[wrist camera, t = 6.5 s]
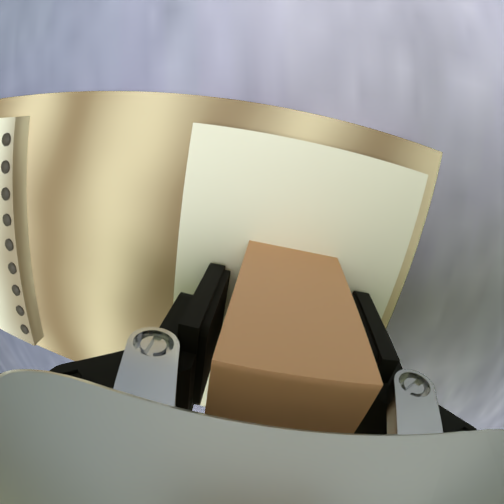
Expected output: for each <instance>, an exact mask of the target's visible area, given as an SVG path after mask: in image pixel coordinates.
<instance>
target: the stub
mask: <svg viewBox="0 0 504 504" xmlns="http://www.w3.org/2000/svg"><path fill="white" fill-rule="evenodd" d="M427 179H428V174H425V173H422V172H419V171H416V170H413V169H409V168H406V167H403V166H400V165H396V164H393V163H390V162H386V161H383V160H379V159H376V158H372V157H369V156H365V155H361V154H358V153H354V152H350V151H346V150H342V149H338V148H334V147H330V146H325V145H321V144H317V143H312V142H308V141H303V140H298V139H294V138H289V137H284V136H278V135H273V134H268V133H262V132H256V131H250V130H244V129H238V128H231V127H225V126H217V125H210V124H202V123H193V126H192V133H191V139H190V146H189V153H188V160H187V167H186V175H185V182H184V190H183V199H182V207H181V217H180V226H179V236H178V247H177V258H176V270H175V284H174V298H173V303H174V302H175V300H176V299H177V297H178V295H179V294H180V293H181V292H183V293H188V294H192V295H193V294H194V292H195V291H196V289H197V287H198V285H199V283H200V281H201V279H202V277H203V276H204V274H205V272H206V270H207V268H208V266H209V264H210V263H214V264H219V265H224V266H226V268H225V270H229V271H231V272H230V279H229V285H228V291H227V298H226V304H225V310H224V317H223V323H222V329H221V332H220V335H219V338H218V341H217V345H216V348H215V351H214V354H213V358H212V362H211V370H210V373H209V377H208V380H207V383H206V387H205V390H204V394H203V397H202V400H201V404H200V405H201V406H205V407H206V408H205V414H208V415H213V416H218V417H223V418H228V419H233V420H239V421H245V422H250V423H257V424H263V425H270V426H277V427H284V428H292V429H301V430H311V431H322V432H336V433H354V432H355V431H356V429H357V428H358V426H359V425H360V423H361V421H362V420H363V418H364V417H365V415H366V413H367V412H368V410H369V409H370V407H371V405H372V404H373V402H374V400H375V399H376V397H377V395H378V393H379V392H380V390H381V388H382V386H383V382H382V379H381V376H380V373H379V370H378V367H377V364H376V361H375V358H374V355H373V352H372V349H371V346H370V343H369V340H368V337H367V334H366V332H365V329H364V326H363V323H362V320H361V318H360V315H359V312H358V310H357V307H356V304H355V301H354V299H353V296H352V293H353V291H360V292H365V293H369V294H370V297H371V299H372V301H373V303H374V305H375V307H376V309H377V311H378V313H379V316H380V318H381V319H382V316H383V314H384V311H385V309H386V307H387V304H388V301H389V299H390V296H391V294H392V291H393V288H394V286H395V283H396V280H397V278H398V275H399V272H400V269H401V266H402V263H403V261H404V258H405V255H406V252H407V249H408V246H409V242H410V239H411V236H412V233H413V230H414V226H415V223H416V220H417V216H418V213H419V209H420V205H421V202H422V198H423V194H424V191H425V187H426V183H427ZM196 405H197V404H196Z"/></svg>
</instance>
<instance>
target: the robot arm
mask: <svg viewBox="0 0 504 504" xmlns="http://www.w3.org/2000/svg"><path fill="white" fill-rule="evenodd" d="M225 268H226V266H224V265H219V264H214V263H210V264H209V266H208V268H207V270H206V272H205V274H204V276H203V277H202V279H201V281H200V283H199V285H198V287H197V289H196V291H195V292H194V294H193V295H192V294H188V293H183V292H181V293H180V294H179V295H178V297H177V299H176V300H175V302H174V303H173V305H172V307H171V308H170V310H169V312H168V313H167V315H166V317H165V318H164V320H163V322H162V324H161V325H160V327H145V328H141V329H138V330H136V331H134V332H133V333H132V334H130V336H129V338H128V340H127V343H126V346H125V350H122V351H118V352H114V353H110V354H106V355H101V356H97V357H92V358H88V359H84V360H79V361H74V362H70V363H65V364H61V365H58V366H56V367H54V368H53V369H51V370H50V371H42V370H32V369H19V370H10V371H7V372H4V373H0V504H504V430H503V429H485V430H477V429H476V428H474V427H473V426H471V425H470V424H468V423H466V422H465V421H463V420H462V419H460V418H459V417H457V416H455V415H454V414H452V413H451V412H449V411H448V410H446V409H444V408H443V407H441V406H440V405H438V402H437V397H436V392H435V388H434V386H433V383H432V382H431V381H430V379H429V378H427V377H426V376H425V375H424V374H422V373H420V372H418V371H415V370H411V369H402V367H401V364H400V362H399V361H400V360H399V358H398V356H397V353H396V351H395V349H394V346H393V344H392V342H391V340H390V337H389V335H388V333H387V331H386V329H385V326H384V324H383V322H382V320H381V318H380V316H379V313H378V311H377V309H376V307H375V305H374V303H373V301H372V299H371V297H370V294H369V293H365V292H360V291H353V293H352V296H353V299H354V301H355V304H356V307H357V310H358V312H359V315H360V318H361V320H362V323H363V326H364V329H365V332H366V334H367V337H368V340H369V343H370V346H371V349H372V352H373V355H374V358H375V361H376V364H377V367H378V370H379V373H380V376H381V379H382V382H383V386H382V388H381V390H380V392H379V393H378V395H377V397H376V399H375V400H374V402H373V404H372V405H371V407H370V409H369V410H368V412H367V413H366V415H365V417H364V418H363V420H362V421H361V423H360V425H359V426H358V428H357V429H356V431H355V432H354V433H336V432H322V431H311V430H301V429H292V428H284V427H277V426H270V425H263V424H257V423H250V422H245V421H239V420H233V419H228V418H223V417H218V416H213V415H208V414H204V413H199V412H195V411H192V409H193V405H194V404H197V405H200V404H201V400H202V397H203V394H204V390H205V387H206V383H207V380H208V377H209V373H210V370H211V362H212V358H213V354H214V351H215V348H216V345H217V341H218V338H219V335H220V332H221V329H222V323H223V317H224V310H225V304H226V298H227V291H228V285H229V279H230V272H231V271H229V270H225Z"/></svg>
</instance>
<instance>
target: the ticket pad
mask: <svg viewBox="0 0 504 504" xmlns="http://www.w3.org/2000/svg"><path fill="white" fill-rule="evenodd" d="M193 123H202V124H210V125H217V126H225V127H231V128H238V129H244V130H250V131H256V132H262V133H268V134H273V135H278V136H284V137H289V138H294V139H298V140H303V141H308V142H312V143H317V144H321V145H325V146H330V147H334V148H338V149H342V150H346V151H350V152H354V153H358V154H361V155H365V156H369V157H372V158H376V159H379V160H383V161H386V162H390V163H393V164H396V165H400V166H403V167H406V168H409V169H413V170H416V171H419V172H422V173H425V174H428V179H427V183H426V187H425V191H424V194H423V198H422V202H421V205H420V209H419V213H418V216H417V220H416V223H415V226H414V230H413V233H412V236H411V239H410V242H409V246H408V249H407V252H406V255H405V258H404V261H403V263H402V266H401V269H400V272H399V275H398V278H397V280H396V283H395V286H394V288H393V291H392V294H391V296H390V299H389V301H388V304H387V307H386V309H385V311H384V314H383V316H382V319H381V320H382V322H383V324H384V326H385V329H386V327H387V325H388V322H389V320H390V318H391V315H392V313H393V311H394V308H395V306H396V303H397V301H398V298H399V296H400V293H401V291H402V288H403V285H404V283H405V280H406V277H407V275H408V272H409V269H410V266H411V263H412V261H413V258H414V255H415V252H416V249H417V246H418V243H419V240H420V236H421V233H422V230H423V227H424V223H425V220H426V217H427V213H428V210H429V206H430V202H431V199H432V195H433V191H434V187H435V183H436V179H437V175H438V171H439V167H440V162H441V158H442V152H440V151H437V150H435V149H432V148H429V147H426V146H424V145H421V144H418V143H415V142H412V141H409V140H406V139H403V138H400V137H397V136H394V135H391V134H387V133H384V132H381V131H378V130H374V129H371V128H367V127H364V126H360V125H356V124H353V123H349V122H345V121H341V120H337V119H333V118H329V117H325V116H321V115H316V114H312V113H307V112H302V111H298V110H293V109H287V108H282V107H277V106H271V105H265V104H260V103H253V102H247V101H240V100H233V99H225V98H217V97H208V96H198V95H188V94H175V93H160V92H136V91H85V92H63V93H48V94H36V95H26V96H18V97H10V98H2V99H0V329H2V330H4V331H6V332H8V333H10V334H12V335H14V336H16V337H18V338H20V339H22V340H24V341H26V342H28V343H30V344H32V345H34V346H35V345H39V346H41V347H43V348H45V349H48V350H50V351H52V352H54V353H57V354H59V355H62V356H64V357H66V358H69V359H71V360H74V361H79V360H84V359H88V358H92V357H97V356H101V355H106V354H110V353H114V352H118V351H122V350H125V346H126V343H127V340H128V338H129V336H130V334H132V333H133V332H134V331H136V330H138V329H141V328H145V327H160V325H161V324H162V322H163V320H164V318H165V317H166V315H167V313H168V312H169V310H170V308H171V307H172V305H173V298H174V284H175V270H176V258H177V247H178V236H179V226H180V217H181V207H182V199H183V190H184V182H185V175H186V167H187V160H188V153H189V146H190V139H191V133H192V126H193Z"/></svg>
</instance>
